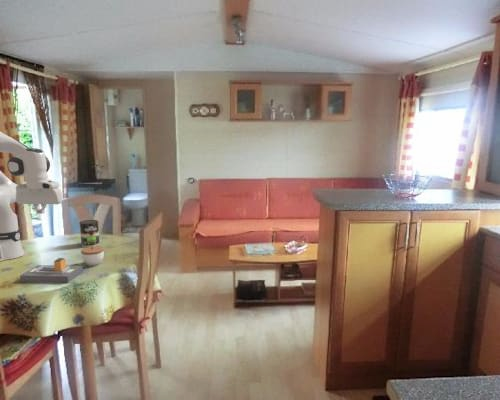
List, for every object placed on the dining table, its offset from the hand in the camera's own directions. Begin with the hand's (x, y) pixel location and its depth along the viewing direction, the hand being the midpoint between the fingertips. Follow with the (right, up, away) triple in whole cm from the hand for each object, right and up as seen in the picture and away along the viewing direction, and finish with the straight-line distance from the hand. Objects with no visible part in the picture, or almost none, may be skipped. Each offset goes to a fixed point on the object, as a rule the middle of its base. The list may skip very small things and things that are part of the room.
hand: (40, 213), depth 171 cm
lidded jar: (+17, -27, +17) cm, 36 cm away
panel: (+6, -30, 0) cm, 30 cm away
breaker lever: (+10, -26, -1) cm, 28 cm away
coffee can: (+2, -21, +50) cm, 54 cm away
